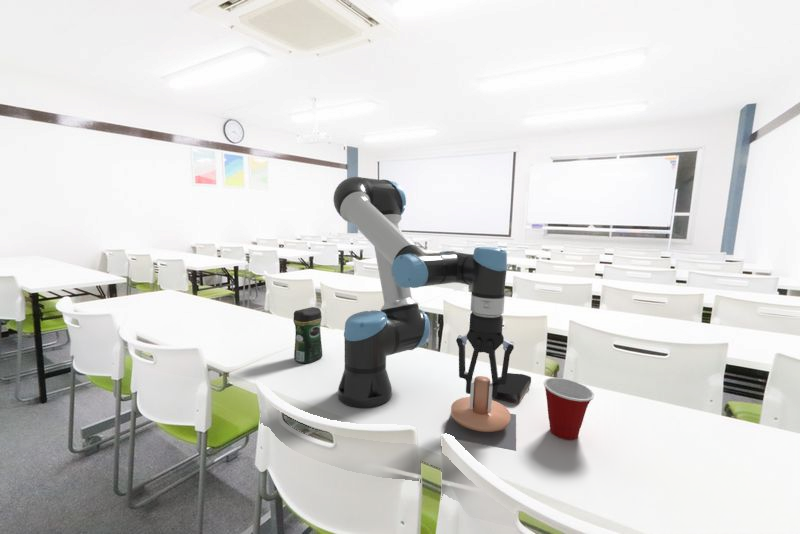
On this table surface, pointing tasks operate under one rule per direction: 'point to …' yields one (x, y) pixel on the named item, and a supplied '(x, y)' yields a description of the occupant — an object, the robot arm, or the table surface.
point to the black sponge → (513, 388)
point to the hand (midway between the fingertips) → (480, 407)
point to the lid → (480, 410)
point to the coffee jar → (307, 335)
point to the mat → (485, 434)
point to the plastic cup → (566, 406)
